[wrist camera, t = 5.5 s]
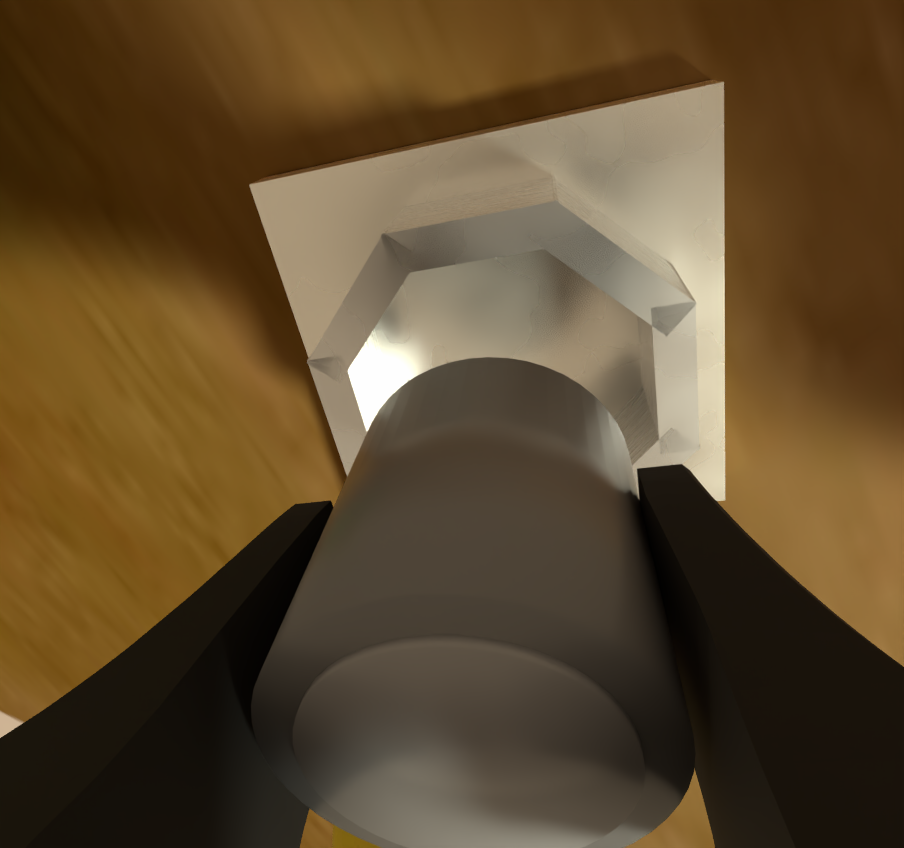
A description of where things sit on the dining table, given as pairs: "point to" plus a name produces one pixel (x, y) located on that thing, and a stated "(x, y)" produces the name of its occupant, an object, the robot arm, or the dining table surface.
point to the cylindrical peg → (482, 630)
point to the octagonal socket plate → (524, 266)
